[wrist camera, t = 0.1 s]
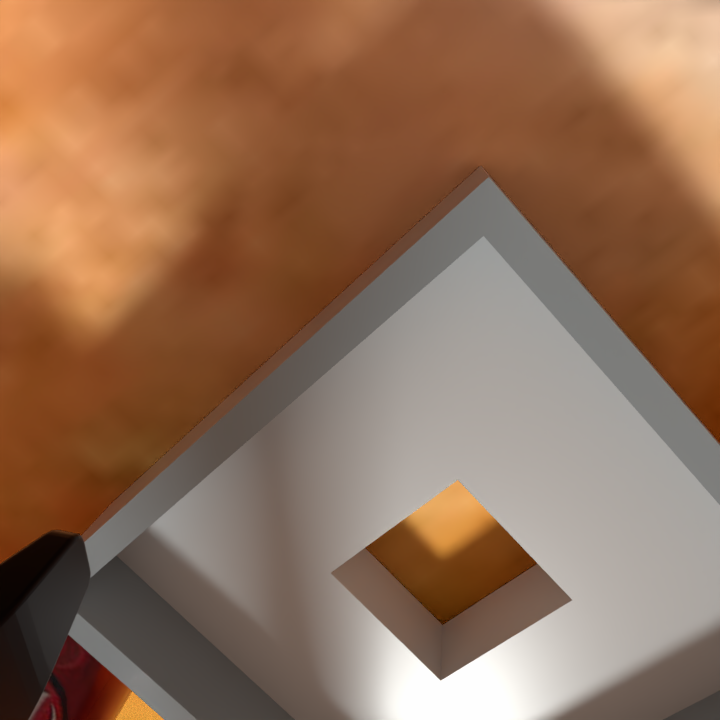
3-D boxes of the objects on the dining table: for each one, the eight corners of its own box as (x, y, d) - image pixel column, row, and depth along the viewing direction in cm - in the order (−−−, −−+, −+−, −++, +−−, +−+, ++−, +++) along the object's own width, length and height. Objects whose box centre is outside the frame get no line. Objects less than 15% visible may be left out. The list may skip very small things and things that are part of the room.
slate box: (427, 797, 31) (421, 946, 25) (111, 502, 28) (24, 595, 22) (835, 577, 24) (947, 709, 19) (480, 165, 22) (488, 177, 16)
